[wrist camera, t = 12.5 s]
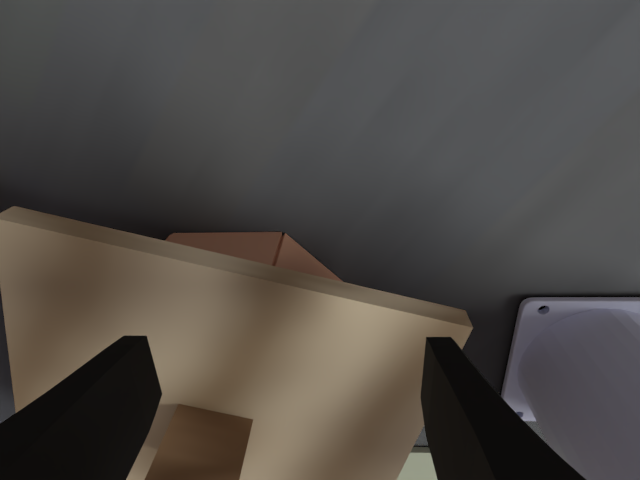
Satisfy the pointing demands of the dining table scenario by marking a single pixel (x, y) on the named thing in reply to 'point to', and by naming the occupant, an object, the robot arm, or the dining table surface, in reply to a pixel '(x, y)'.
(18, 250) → the cover board
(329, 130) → the dining table surface
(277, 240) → the bowl
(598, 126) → the dining table surface
